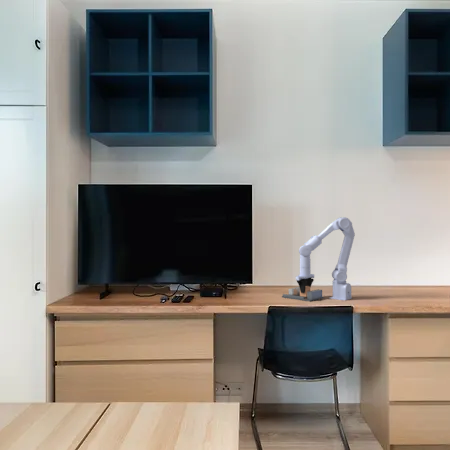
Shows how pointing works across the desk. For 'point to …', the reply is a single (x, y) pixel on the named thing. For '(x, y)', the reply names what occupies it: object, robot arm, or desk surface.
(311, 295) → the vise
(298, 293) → the moving jaw
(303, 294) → the block
